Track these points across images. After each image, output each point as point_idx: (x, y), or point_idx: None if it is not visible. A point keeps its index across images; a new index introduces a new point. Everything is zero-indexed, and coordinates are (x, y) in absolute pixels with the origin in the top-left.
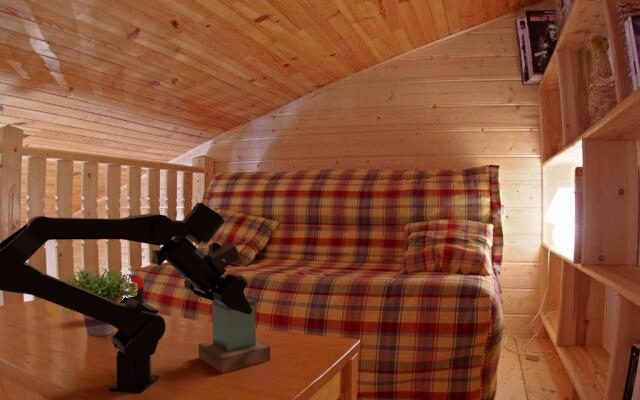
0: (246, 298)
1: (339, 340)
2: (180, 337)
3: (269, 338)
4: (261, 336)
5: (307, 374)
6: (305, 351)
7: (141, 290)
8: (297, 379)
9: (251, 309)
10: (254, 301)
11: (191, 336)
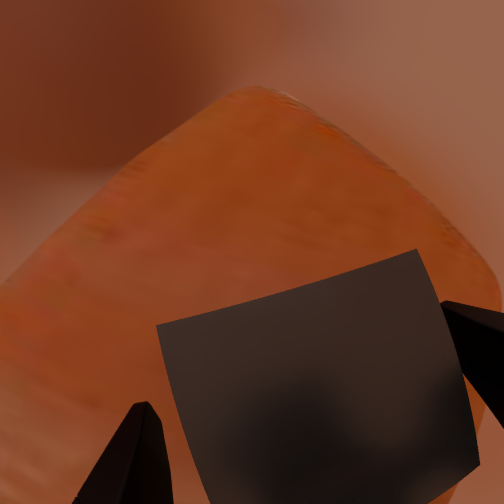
0: (322, 299)
1: (244, 100)
2: (19, 467)
3: (131, 234)
4: (101, 251)
5: (436, 232)
6: (292, 180)
7: None
8: (456, 260)
9: (456, 305)
10: (417, 257)
11: (18, 440)
